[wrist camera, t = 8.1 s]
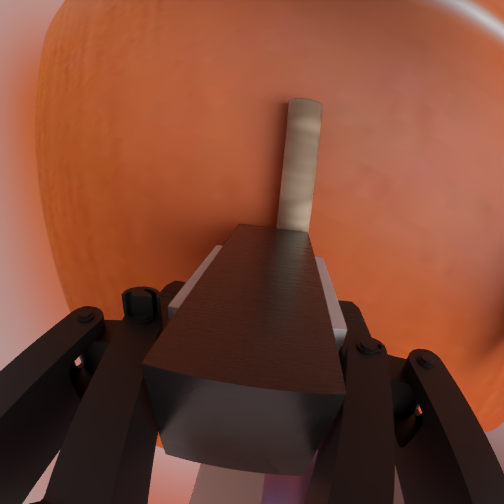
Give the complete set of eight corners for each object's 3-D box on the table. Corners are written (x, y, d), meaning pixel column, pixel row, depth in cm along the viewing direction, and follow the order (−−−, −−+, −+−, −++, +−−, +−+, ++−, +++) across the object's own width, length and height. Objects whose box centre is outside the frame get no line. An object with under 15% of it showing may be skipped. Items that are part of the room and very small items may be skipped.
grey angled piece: (239, 223, 16) (141, 362, 5) (379, 242, 15) (497, 379, 4) (226, 411, 22) (196, 526, 10) (319, 420, 21) (322, 536, 10)
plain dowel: (283, 98, 14) (315, 98, 13) (297, 106, 16) (326, 107, 15) (263, 289, 18) (290, 299, 17) (277, 280, 19) (303, 288, 18)
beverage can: (263, 357, 21) (234, 540, 7) (335, 335, 20) (369, 528, 5) (287, 401, 22) (277, 553, 8) (350, 384, 21) (376, 539, 7)
